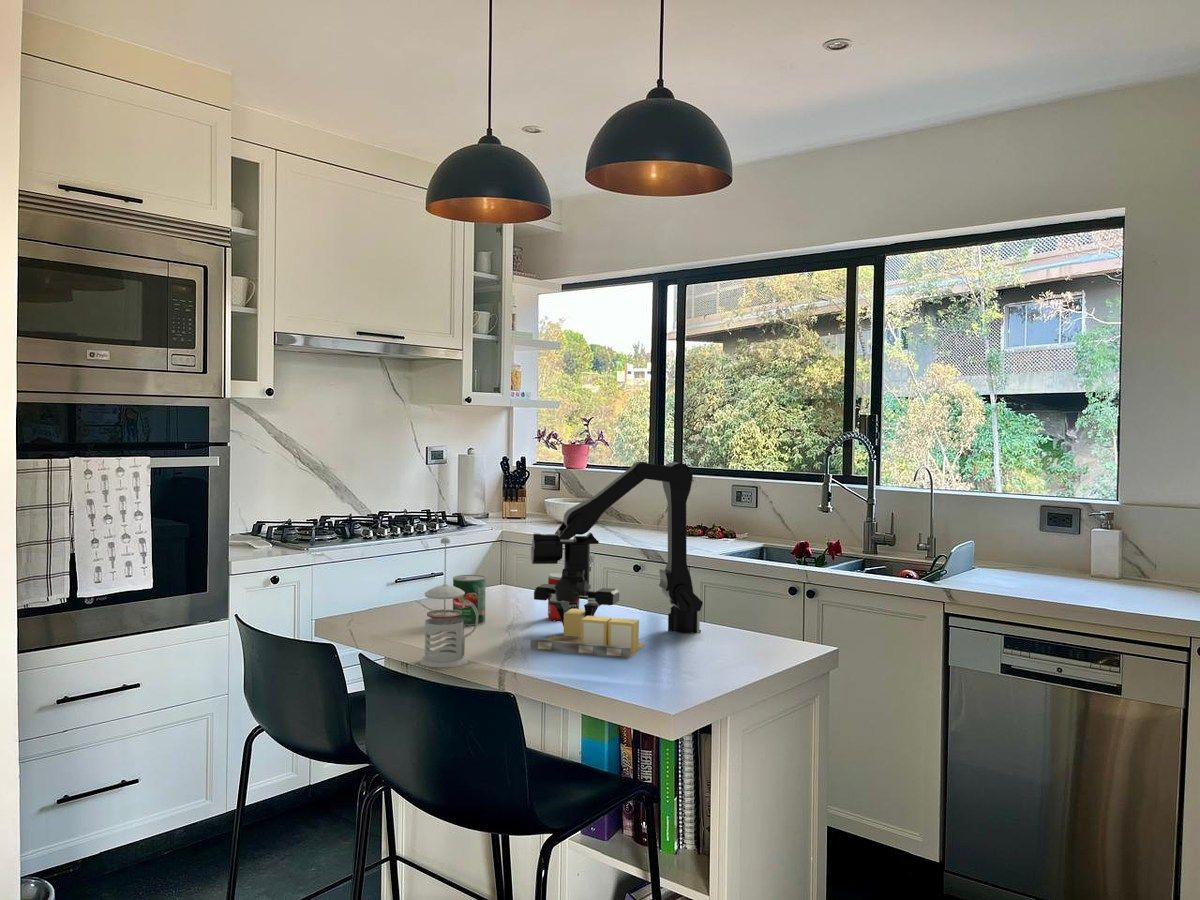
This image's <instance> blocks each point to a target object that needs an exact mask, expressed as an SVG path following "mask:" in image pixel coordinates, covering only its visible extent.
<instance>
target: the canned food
mask: <svg viewBox="0 0 1200 900" xmlns="http://www.w3.org/2000/svg"><path fill="white" fill-rule="evenodd" d="M547 577H548V578H547V579H548V582H547V584H553V585H556V584H557V583H558V581H559V580H560V579H561V577H562V571H561V572H550V573H549V574H548V576H547ZM550 598H551V596H550V597H549V598H548V599H547V616H548V620H550V619H551V620H550V621H552V620H555V621H554V622H557V621H561V618H560V615H559V613H558V611H557V609H556V608H555V606H554V605H552V604H550V603H549V602H550ZM570 609H580V599H578V600H577V601H576V602H569V610H570Z"/></svg>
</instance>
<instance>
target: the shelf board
mask: <svg viewBox="0 0 1200 900" xmlns="http://www.w3.org/2000/svg"><path fill="white" fill-rule="evenodd" d="M529 643H530V645H529V646H530V647H529V649H530V650H534V651H543V652H544V651H545V652H555V653H564V654H565V653H566V654H567V653H568V654H577V655H588V656H597V657H609V658H621V659H627V660H628V659H629V660H630V658H632V657H633V656H634V655H636V653H638V651H640V650H641V649H642V648H644V646H645V645H646V643H642V642H640V643H639V648H638V649H637V650H636V651H634V652H631V647H621V646H610V645H599V644H588V643H581V637H574V636H561V635H560V636H559V635H551V636H549V637H548V638H546V639H543V638H541V639H540V638H530V640H529Z"/></svg>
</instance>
